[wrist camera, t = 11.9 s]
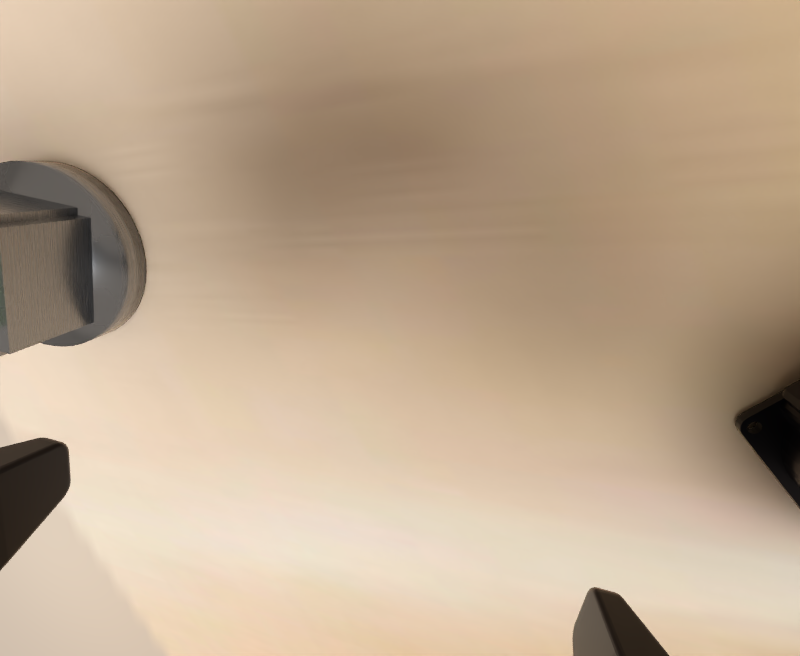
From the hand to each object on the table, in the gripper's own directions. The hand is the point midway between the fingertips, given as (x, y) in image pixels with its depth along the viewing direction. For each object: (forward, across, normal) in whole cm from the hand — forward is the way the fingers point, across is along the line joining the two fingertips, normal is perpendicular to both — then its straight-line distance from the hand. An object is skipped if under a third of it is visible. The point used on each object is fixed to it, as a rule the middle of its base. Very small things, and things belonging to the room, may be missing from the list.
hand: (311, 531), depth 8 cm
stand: (+13, +16, +1) cm, 21 cm away
